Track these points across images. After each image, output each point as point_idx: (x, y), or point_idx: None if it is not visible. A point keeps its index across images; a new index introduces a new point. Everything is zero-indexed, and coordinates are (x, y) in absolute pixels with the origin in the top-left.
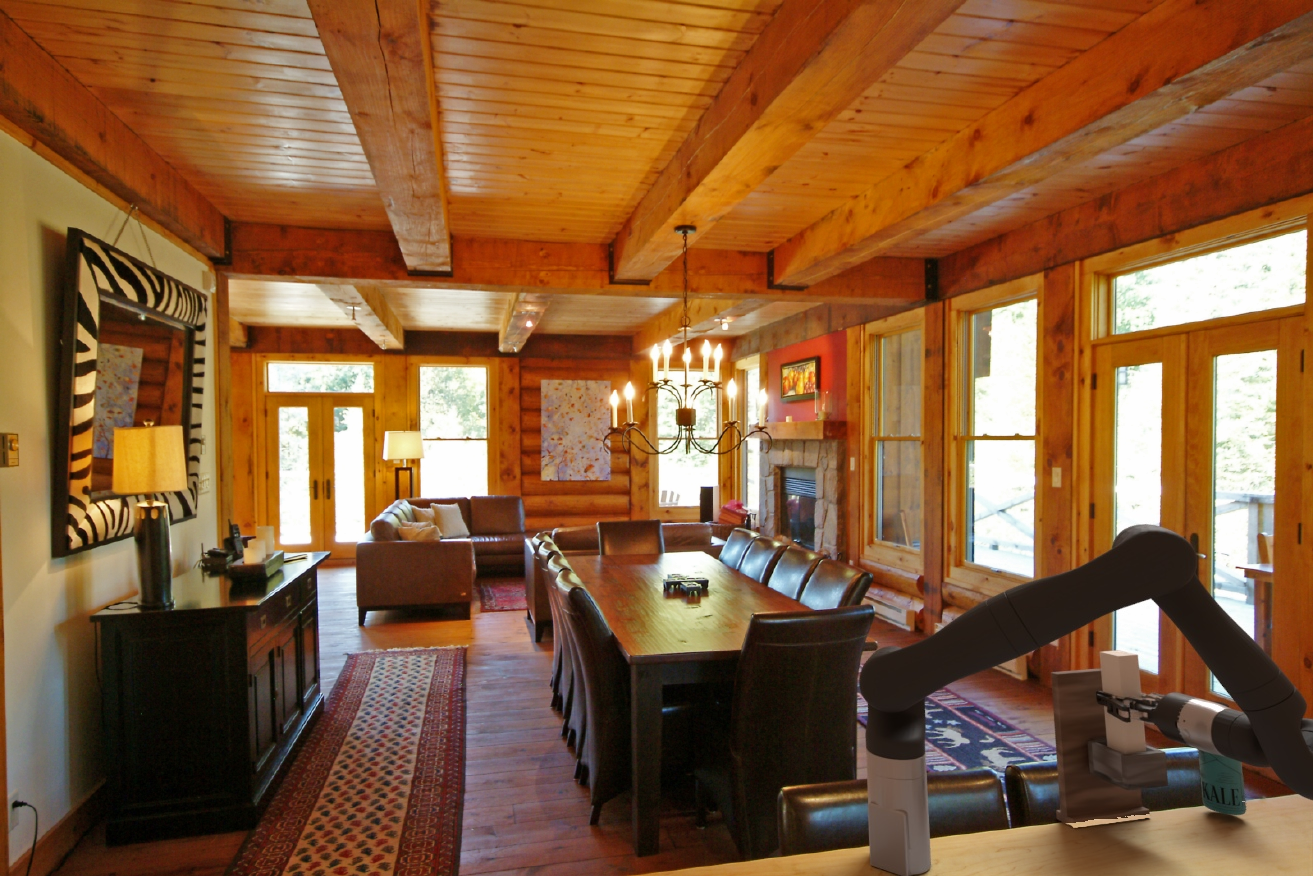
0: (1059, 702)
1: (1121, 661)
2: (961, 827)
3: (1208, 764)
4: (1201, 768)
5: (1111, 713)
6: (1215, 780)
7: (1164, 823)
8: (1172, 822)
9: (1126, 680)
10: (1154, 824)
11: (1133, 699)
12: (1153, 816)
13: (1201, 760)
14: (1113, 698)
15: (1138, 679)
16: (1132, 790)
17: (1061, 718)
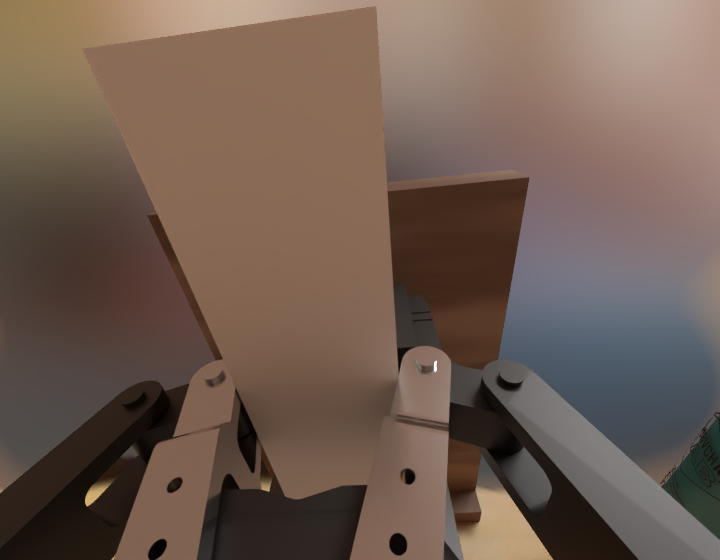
0: (192, 307)
1: (145, 118)
2: (117, 466)
3: (717, 503)
4: (683, 481)
5: (110, 492)
6: None
7: (500, 555)
8: (524, 555)
9: (256, 294)
10: (471, 553)
11: (133, 518)
12: (495, 511)
13: (697, 471)
14: (144, 407)
15: (377, 285)
16: (454, 470)
17: (214, 347)
